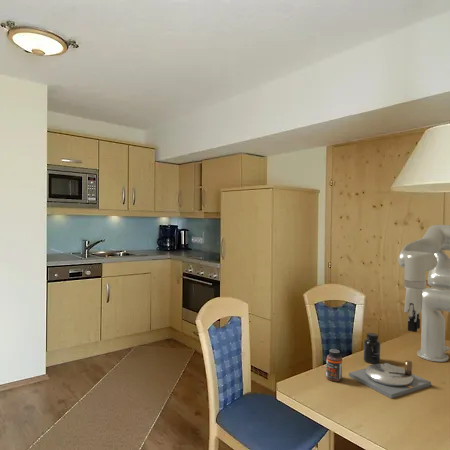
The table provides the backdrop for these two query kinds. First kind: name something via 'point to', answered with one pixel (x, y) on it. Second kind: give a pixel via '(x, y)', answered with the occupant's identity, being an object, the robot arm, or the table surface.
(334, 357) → the supplement bottle
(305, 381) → the table surface
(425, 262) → the robot arm
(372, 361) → the supplement bottle
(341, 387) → the table surface
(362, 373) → the base plate
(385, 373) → the dial
